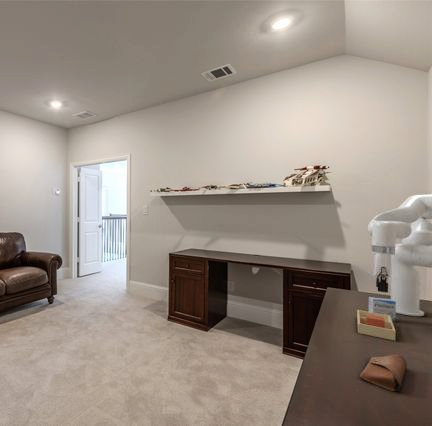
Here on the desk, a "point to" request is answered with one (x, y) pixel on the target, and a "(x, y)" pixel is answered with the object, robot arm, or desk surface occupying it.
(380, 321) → the terracotta block
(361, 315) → the sorter
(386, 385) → the sunglasses case
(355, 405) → the desk surface
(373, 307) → the medicine box
